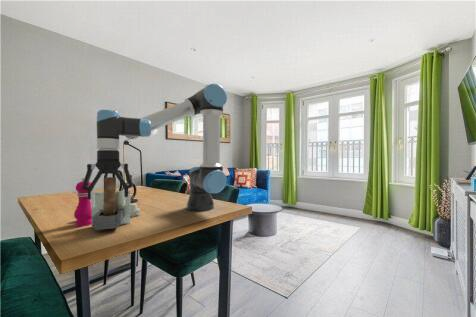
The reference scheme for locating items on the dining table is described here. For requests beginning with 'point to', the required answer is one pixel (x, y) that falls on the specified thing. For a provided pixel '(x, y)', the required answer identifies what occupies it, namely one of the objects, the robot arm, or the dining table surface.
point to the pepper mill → (83, 206)
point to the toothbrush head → (134, 210)
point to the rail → (109, 196)
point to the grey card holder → (110, 220)
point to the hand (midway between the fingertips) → (108, 206)
